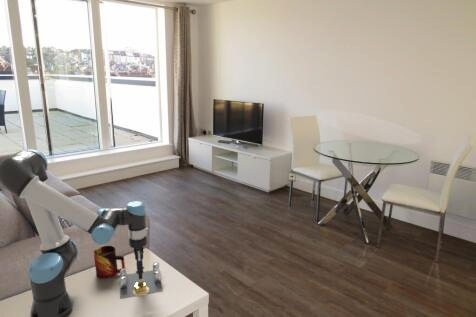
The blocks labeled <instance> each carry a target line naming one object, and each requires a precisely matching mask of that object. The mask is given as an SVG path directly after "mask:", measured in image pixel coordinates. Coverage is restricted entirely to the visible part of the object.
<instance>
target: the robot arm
mask: <svg viewBox="0 0 476 317" xmlns="http://www.w3.org/2000/svg"><path fill="white" fill-rule="evenodd" d="M47 168H48V159H47V158H46V156H45V155H44V154H43V153H42V152H41V151H38V150H36V149H31V148H27V149H24V150H23V149H22V150H20V151H17V152H16V153H14V154H12V155H10V156H7V157H5V158H4V159H1V161H0V185H1V186H2V187H4V189H5V190H7V191H8V192H10V193H11V194H12V195H14V196H16V197H18V198H20V199H23V198H24V199H25V202H26V204H27V208H28V209H29V212H30V214H31V217H32V220H33V222H34V224H35V225H34V226H35V228H36V231H37V232H38V235H39V238H40V240H41V244H40V246H39V250H40V252H41V255H39V256H37V257H35V258H34V259H33V260H32V261H31V262H30V264H29V266H28V277H29V283H30V287H31V293H32V299H33V300H32V305H31V307H30V308H31V309H30V312H29V313H30V314H29V315H30V317H68V316H69V315H70V314H71V312H72V311H73V309H74V308H73V307H74V302H73V300H72V298H71V296H70V295H69V293H68V291H67V287H66V286H67V285H66V276H67V275H68V273H69V271H70V269H71V268H72V266H73V265H74V264H75V262H76V261H77V258H78V255H79V248H78V247H79V246H78V244H77V243H76V242H75V241H74V240H72V239H71V238H70V236H69V235H67V234H64V230H63V228H62V225H61V222H60V219H59V218H62V219H63V220H65V221H67V222H69V223H70V224H72V225H74V226H76V227H77V228H79V229H81V230H83V231H84V232H87V233H88V234H90V235H91V240H92V241H93V243H95V244H97V245H106V244H108V243H109V242H111V240H112V239H113V237H114V235H115V232H116V231H117V228H118V227H119V226H127V234H128V244H129V246H130V248H133V251H134V252H133V254H134V259H135V261H136V270H135V273H137V280H138V282H144V275H143V272H144V269H145V266H144V264H143V259H144V247H145V246H147V245H148V244H147V243H148V237H147V231H148V229H149V228H148V227H147V224H146V223H147V220H146V218H147V217H146V209H145V203H144V202H142V201H139V200H134V201H129V202H128V203H127V204H126V206H125V207H104V208H100V209H98V210H97V213H96V212H94V211H92V210H91V209H89V208H88V207H86V206H84V205H82V204H81V203H79V202H77V201H76V200H74V199H72V198H70V197H69V196H67V195H66V194H63V193H61V191H59V190H57V189H55V188H54V187H52V186H50V185H48V184H47V182H48V180H49V177H48V174H47V172H46V171H47Z"/></svg>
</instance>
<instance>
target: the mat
mask: <svg viewBox="0 0 476 317" xmlns="http://www.w3.org/2000/svg"><path fill="white" fill-rule="evenodd" d="M143 275H144V283H145V284H146V289H145V291H144V292H141V293H137V292H136V291H134V285H135V284H136V283H137V282H138V280H137V273H136V272H135V273H129V274H128V273H127V288H126V289H120V288H119V300H120V299H121V300H122V299H129V298H134V297H142V296H146V295H150V294H157V293H161V292H163V291H164V290H163V285H162V281H161V282H160V283H154V274H153V269H152V270H147V271H143Z"/></svg>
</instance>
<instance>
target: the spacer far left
mask: <svg viewBox="0 0 476 317" xmlns="http://www.w3.org/2000/svg"><path fill="white" fill-rule="evenodd" d="M119 269H120V273H119V278H120V277H121V276H126V278H127V274H128V273H127V267H126V266H125V267H122V266H121V267H120V268H119Z"/></svg>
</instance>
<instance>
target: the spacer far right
mask: <svg viewBox="0 0 476 317" xmlns="http://www.w3.org/2000/svg"><path fill="white" fill-rule="evenodd" d="M152 270H153V274H154V271H156V270H159V271H160V262H153V263H152Z"/></svg>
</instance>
